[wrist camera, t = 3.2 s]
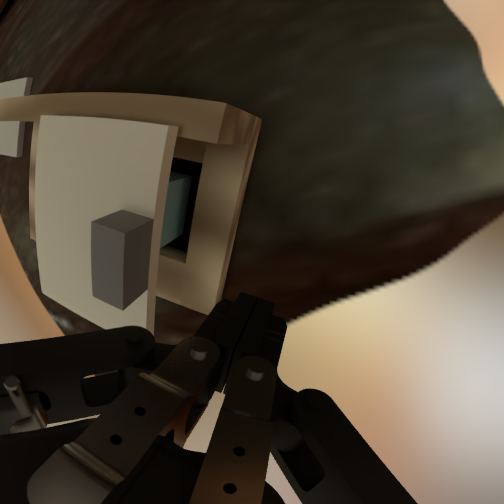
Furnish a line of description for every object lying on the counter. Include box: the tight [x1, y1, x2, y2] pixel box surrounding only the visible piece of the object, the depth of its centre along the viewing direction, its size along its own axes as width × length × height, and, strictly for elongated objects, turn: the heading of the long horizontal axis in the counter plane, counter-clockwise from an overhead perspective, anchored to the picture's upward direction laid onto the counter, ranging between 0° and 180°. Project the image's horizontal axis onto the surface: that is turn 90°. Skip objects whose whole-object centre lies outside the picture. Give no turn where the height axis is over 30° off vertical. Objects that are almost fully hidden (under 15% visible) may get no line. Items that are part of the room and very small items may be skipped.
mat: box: [0, 77, 33, 157], centre depth 25 cm, size 10×10×1 cm
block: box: [160, 171, 192, 248], centre depth 20 cm, size 5×5×8 cm
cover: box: [35, 115, 179, 335], centre depth 14 cm, size 13×10×3 cm
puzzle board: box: [0, 92, 262, 315], centre depth 21 cm, size 16×24×8 cm, turn 77°
